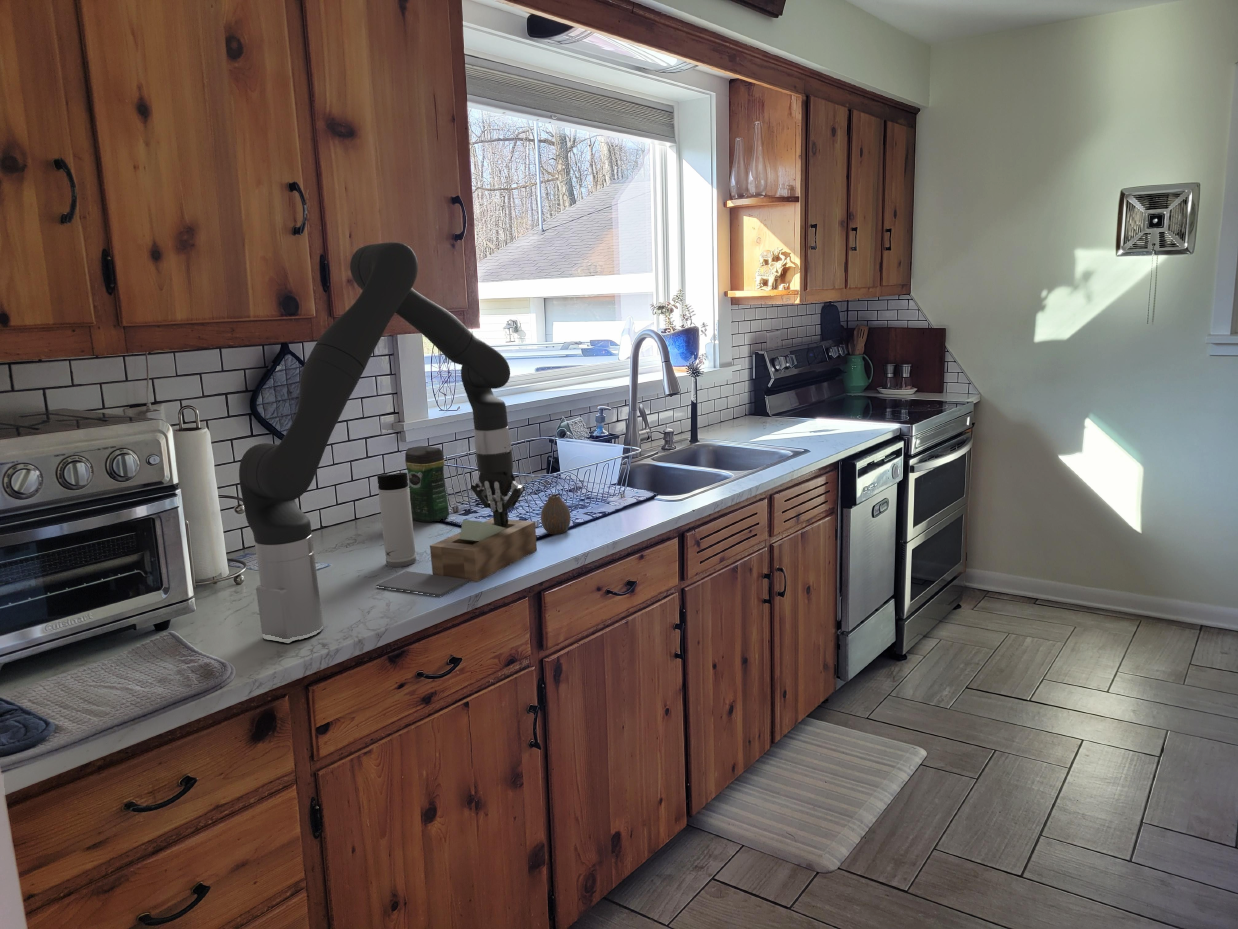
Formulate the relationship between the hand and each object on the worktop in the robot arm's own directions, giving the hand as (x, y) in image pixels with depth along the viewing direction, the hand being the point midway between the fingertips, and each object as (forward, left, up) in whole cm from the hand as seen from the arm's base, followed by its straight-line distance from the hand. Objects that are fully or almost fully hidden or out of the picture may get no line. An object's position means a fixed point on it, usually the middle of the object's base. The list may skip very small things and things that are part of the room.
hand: (501, 526), depth 198 cm
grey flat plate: (-22, +4, -6) cm, 23 cm away
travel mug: (-12, +18, -6) cm, 23 cm away
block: (-6, 0, -2) cm, 7 cm away
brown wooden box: (-6, 0, -6) cm, 9 cm away
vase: (+19, -2, -6) cm, 20 cm away
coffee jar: (+20, +36, -6) cm, 41 cm away
